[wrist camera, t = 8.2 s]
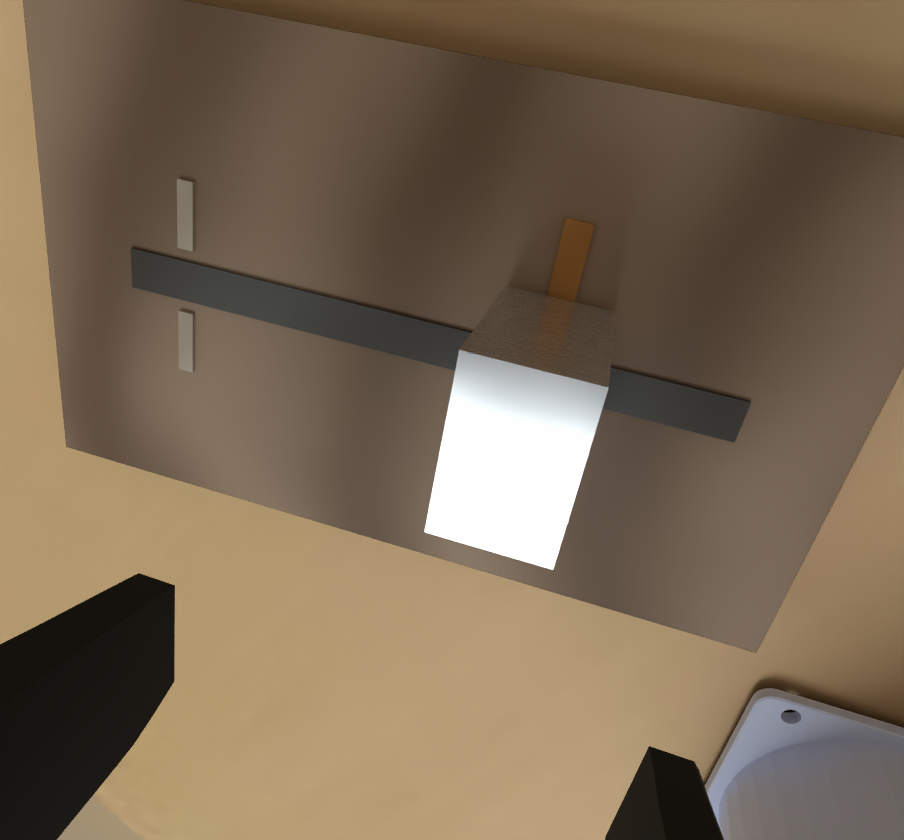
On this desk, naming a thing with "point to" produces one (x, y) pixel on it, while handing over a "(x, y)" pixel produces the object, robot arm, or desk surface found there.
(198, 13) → the console board
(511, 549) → the fader tab
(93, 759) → the robot arm
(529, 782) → the desk surface
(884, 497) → the desk surface
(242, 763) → the desk surface
